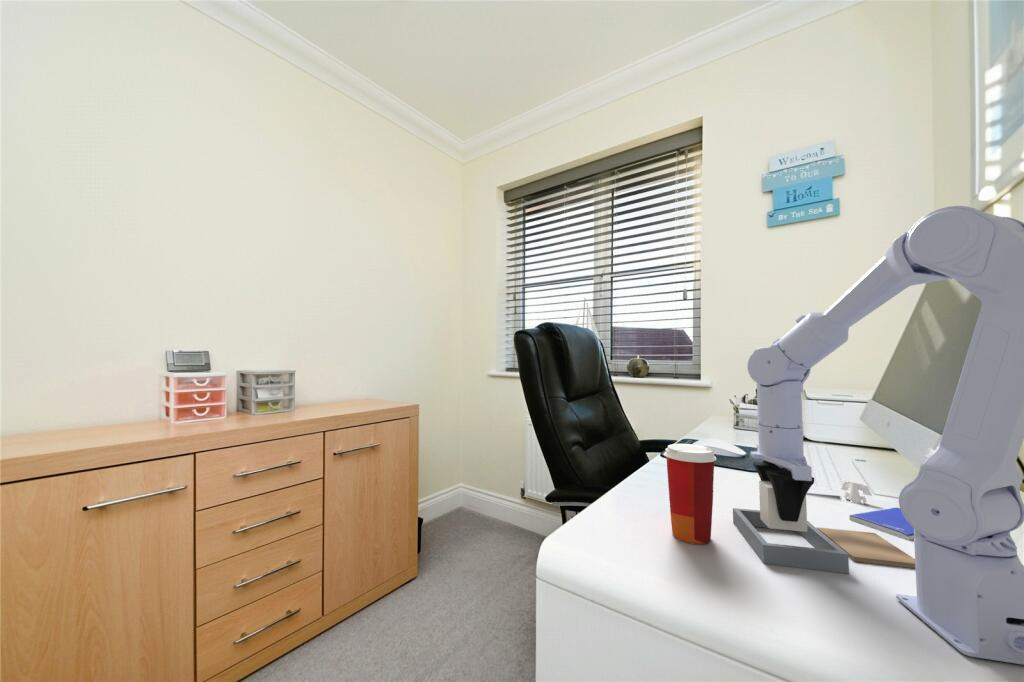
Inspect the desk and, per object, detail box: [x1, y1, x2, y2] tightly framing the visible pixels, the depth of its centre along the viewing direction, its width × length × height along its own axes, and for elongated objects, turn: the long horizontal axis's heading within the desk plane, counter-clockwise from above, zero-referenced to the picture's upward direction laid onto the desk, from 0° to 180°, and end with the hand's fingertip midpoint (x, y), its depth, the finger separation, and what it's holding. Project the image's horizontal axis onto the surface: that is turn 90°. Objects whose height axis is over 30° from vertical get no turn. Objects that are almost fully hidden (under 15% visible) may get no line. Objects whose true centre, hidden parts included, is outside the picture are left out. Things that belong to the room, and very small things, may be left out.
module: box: [758, 480, 808, 532], centre depth 59 cm, size 4×5×6 cm
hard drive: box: [848, 507, 914, 541], centre depth 67 cm, size 2×8×12 cm
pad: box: [816, 526, 916, 569], centre depth 58 cm, size 10×8×1 cm
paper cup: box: [663, 443, 717, 545], centre depth 62 cm, size 8×8×14 cm
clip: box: [839, 481, 873, 505], centre depth 78 cm, size 5×2×4 cm, turn 34°
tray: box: [732, 507, 850, 574], centre depth 59 cm, size 14×10×2 cm
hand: (782, 515), depth 59 cm, fingers closed on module, 3 cm apart
